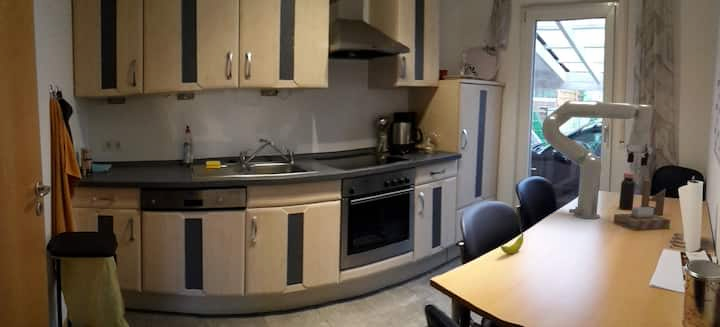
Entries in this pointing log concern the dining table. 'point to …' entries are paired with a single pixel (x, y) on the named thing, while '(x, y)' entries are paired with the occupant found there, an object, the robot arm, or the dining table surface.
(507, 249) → the banana
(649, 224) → the post base
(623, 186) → the bottle
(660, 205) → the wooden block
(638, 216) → the grey bar
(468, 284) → the dining table surface
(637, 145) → the robot arm
